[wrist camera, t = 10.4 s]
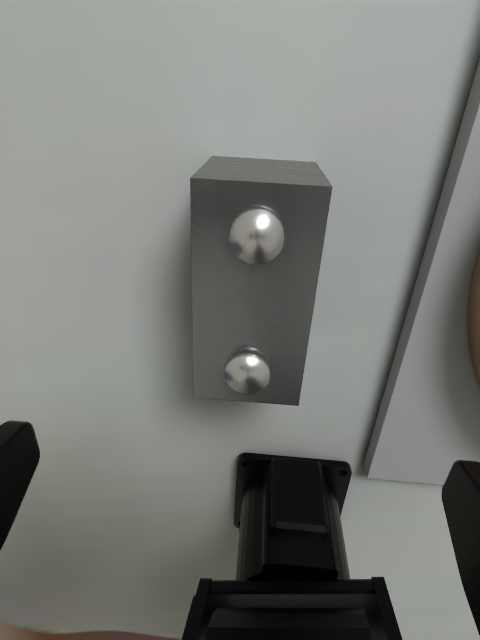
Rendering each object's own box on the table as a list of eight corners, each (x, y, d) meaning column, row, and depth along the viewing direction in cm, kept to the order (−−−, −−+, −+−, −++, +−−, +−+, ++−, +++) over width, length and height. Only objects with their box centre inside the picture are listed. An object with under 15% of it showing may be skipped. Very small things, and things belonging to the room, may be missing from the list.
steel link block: (292, 336, 19) (298, 413, 15) (210, 330, 20) (191, 404, 15) (315, 161, 15) (334, 189, 11) (213, 155, 16) (187, 180, 11)
